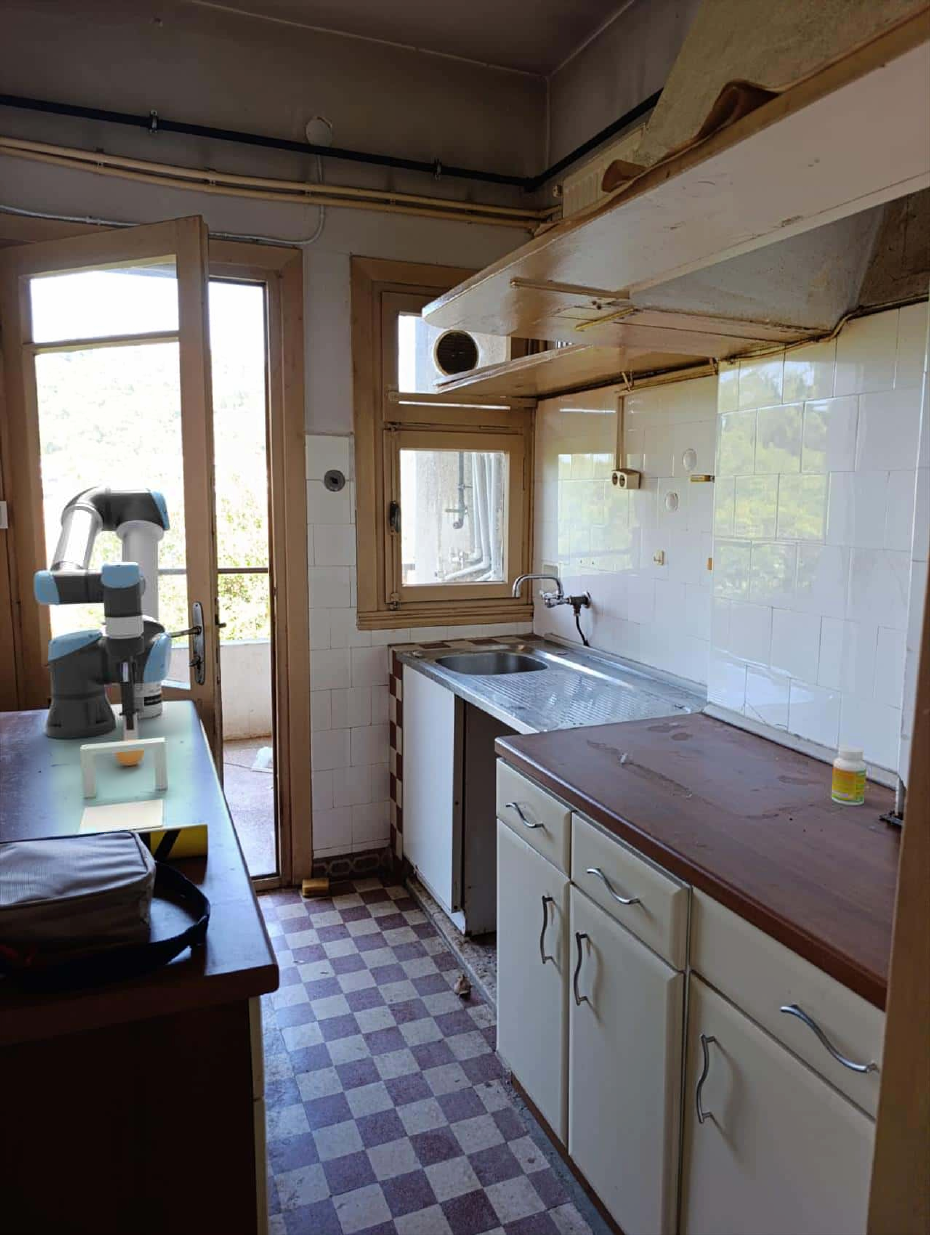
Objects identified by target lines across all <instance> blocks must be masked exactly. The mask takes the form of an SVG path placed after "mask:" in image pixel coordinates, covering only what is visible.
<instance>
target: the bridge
mask: <svg viewBox="0 0 930 1235" xmlns="http://www.w3.org/2000/svg"><path fill="white" fill-rule="evenodd" d="M137 750H153V760H154V762H153V764H154V777H155V790H156V791H157V790H159V789H160V790H166V789H168V772H167V771H168V769H167V768H168V767H167V755H166V751H167V750H166V737H154V738H144V739H138V740H130V741H123V740H121V741H111V742H101V743H100V742H99V743H89V744H81V746H80V748H79V751H80V752H79V753H80V766H81V768H80V770H81V779H82V780H81V781H82V793H83V799H86V798H85V797H88V798H96V796H97V793H98V792H97V790H98V788H97V787H98V786H97V775H96V761H95V760H96V759H95V755H104V754H115V753H116V752H127V751H137ZM160 790H159V791H160ZM96 792H97V793H96Z"/></svg>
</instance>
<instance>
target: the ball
mask: <svg viewBox="0 0 930 1235" xmlns="http://www.w3.org/2000/svg"><path fill="white" fill-rule="evenodd" d="M130 740H135V739H125V740H124V739H123V740H122V741H130ZM144 753H145V751H144V750H137V751H127V752H116V753H114V756H115V759H116V761H117V762H118V763H119V764H121V765H122V766H125V767H126V766H127V767H128V766H130V767H131V766H135V765H137V764H138V763H139V762H140V761H141V760H142V758H144Z"/></svg>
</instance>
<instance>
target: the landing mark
mask: <svg viewBox="0 0 930 1235" xmlns="http://www.w3.org/2000/svg"><path fill="white" fill-rule="evenodd" d="M163 806H164V798H159V799H150V800H141V801H132V802H125V803H124V802H123V803H114V804H108V805H107V804H106V805H105V804H104V805H98V806H97V805H96V806H90V807H89V806H87V807H85V808H84V810H83V814H82V818H81V821H80V825H79V828H78V832H77V835H78V834H85V833H87V832H85V831H84V832H83V831H81V832H80V831H79V829H88V826H90V827H91V828H92V827H94V829H99V830H96V831H95V832H105V831H107V830H115V829H129V830H128V831H134V830H133V829H136V830H143V829H150V828H151V829H153V828H157V827H158V828H159V827H163V814H164V813H163V812H164V809H163V808H164V807H163ZM93 813H94V814H93ZM83 821H84V822H83ZM80 826H87V827H80ZM89 829H90V828H89ZM92 829H93V828H92Z"/></svg>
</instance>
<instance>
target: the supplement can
mask: <svg viewBox="0 0 930 1235" xmlns="http://www.w3.org/2000/svg"><path fill="white" fill-rule="evenodd" d="M162 690H163V689H162V681H159V682H150V683H147V684H145V683H137V684H135V697H136V704H137V705H136V708H139V709H140V711H139V712H136V713H137V719H148V718H152V717H151V716H154V717H156V716H155V715H157V716H159V715H161V713H162V712H163V711H164V708H163V707H164V706H163V691H162ZM158 714H159V715H158ZM147 717H148V718H147Z"/></svg>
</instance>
